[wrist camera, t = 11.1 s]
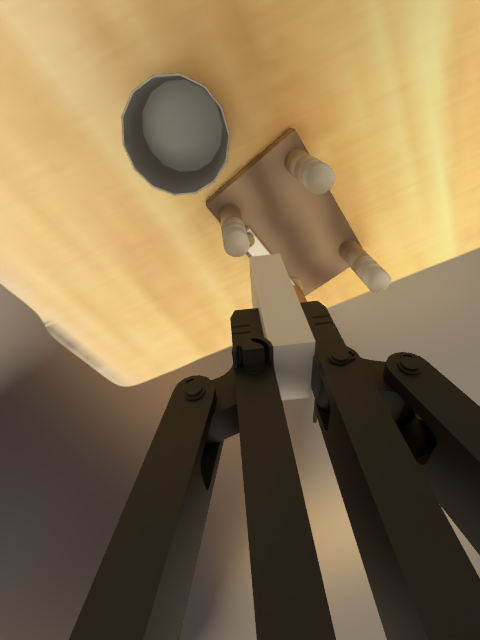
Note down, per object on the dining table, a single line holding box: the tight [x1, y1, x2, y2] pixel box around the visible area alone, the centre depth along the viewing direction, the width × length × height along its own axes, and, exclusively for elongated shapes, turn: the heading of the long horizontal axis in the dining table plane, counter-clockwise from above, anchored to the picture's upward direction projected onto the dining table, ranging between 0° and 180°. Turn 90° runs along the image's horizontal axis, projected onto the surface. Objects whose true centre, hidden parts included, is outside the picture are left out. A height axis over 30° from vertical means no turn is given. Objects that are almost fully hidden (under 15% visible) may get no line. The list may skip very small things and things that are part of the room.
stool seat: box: [206, 128, 391, 296], centre depth 36 cm, size 12×18×11 cm
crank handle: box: [245, 226, 307, 303], centre depth 36 cm, size 2×12×10 cm, turn 38°
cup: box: [121, 73, 230, 195], centre depth 29 cm, size 8×8×10 cm
